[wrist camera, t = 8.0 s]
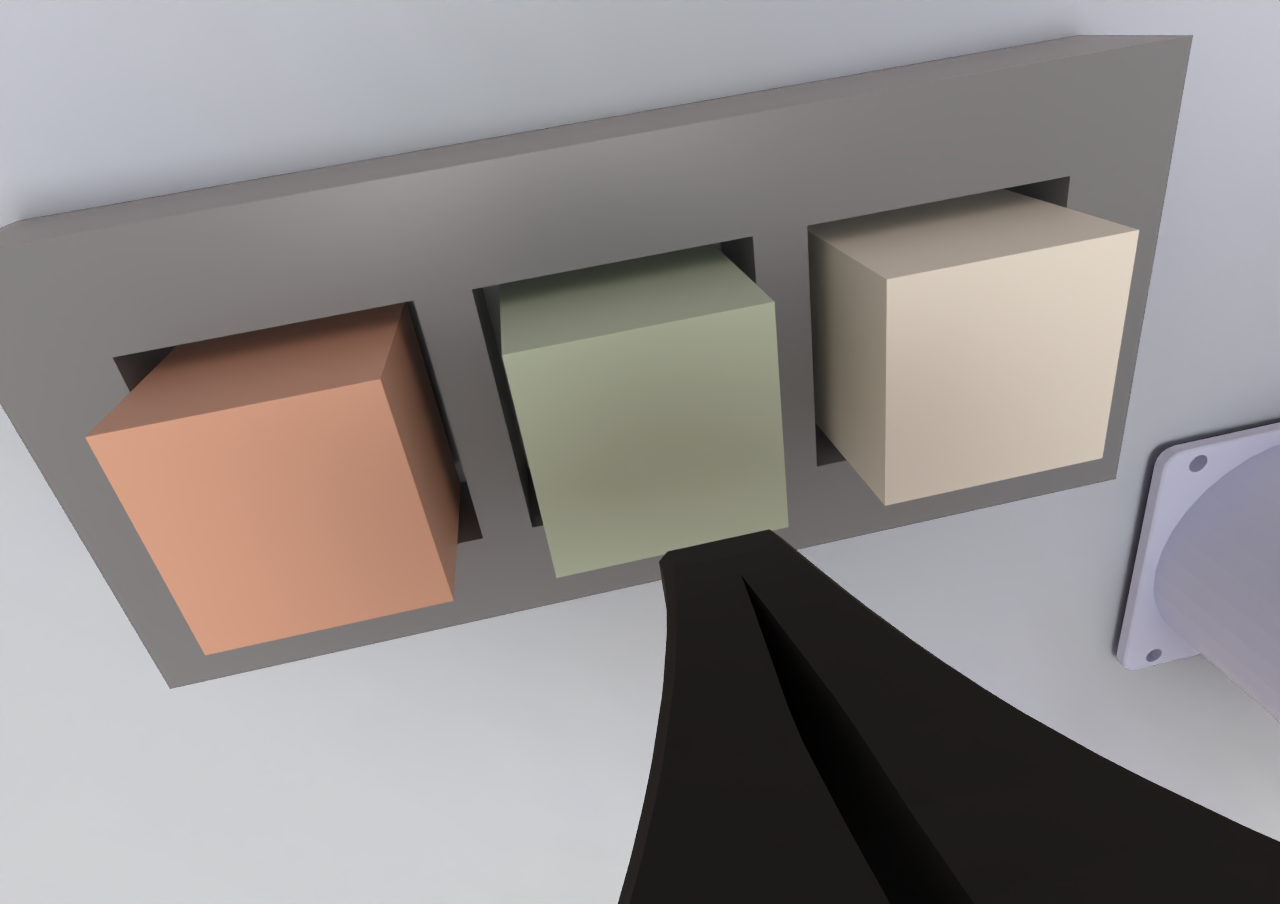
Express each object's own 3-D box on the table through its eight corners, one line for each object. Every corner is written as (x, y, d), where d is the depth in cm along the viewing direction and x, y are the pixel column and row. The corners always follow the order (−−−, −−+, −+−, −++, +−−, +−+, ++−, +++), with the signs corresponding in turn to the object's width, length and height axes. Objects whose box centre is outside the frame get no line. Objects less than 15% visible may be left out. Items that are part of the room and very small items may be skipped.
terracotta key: (406, 299, 15) (380, 379, 12) (461, 485, 17) (453, 600, 14) (180, 342, 15) (85, 437, 11) (264, 526, 17) (204, 655, 13)
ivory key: (998, 187, 16) (1139, 229, 13) (984, 376, 18) (1102, 457, 15) (798, 224, 16) (887, 279, 12) (807, 413, 18) (884, 505, 14)
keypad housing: (1079, 35, 16) (1192, 35, 14) (1036, 422, 21) (1116, 478, 18) (18, 220, 15) (-85, 261, 12) (214, 598, 19) (170, 688, 16)
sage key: (710, 241, 16) (774, 301, 12) (729, 429, 18) (788, 527, 14) (499, 281, 15) (501, 355, 12) (543, 468, 17) (556, 578, 14)
